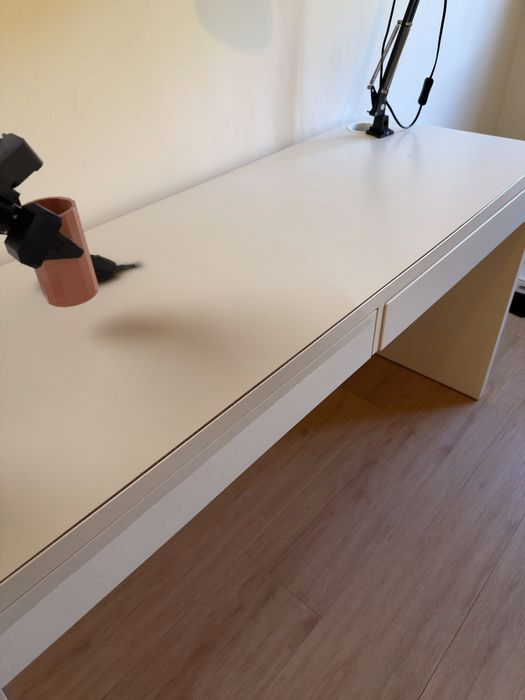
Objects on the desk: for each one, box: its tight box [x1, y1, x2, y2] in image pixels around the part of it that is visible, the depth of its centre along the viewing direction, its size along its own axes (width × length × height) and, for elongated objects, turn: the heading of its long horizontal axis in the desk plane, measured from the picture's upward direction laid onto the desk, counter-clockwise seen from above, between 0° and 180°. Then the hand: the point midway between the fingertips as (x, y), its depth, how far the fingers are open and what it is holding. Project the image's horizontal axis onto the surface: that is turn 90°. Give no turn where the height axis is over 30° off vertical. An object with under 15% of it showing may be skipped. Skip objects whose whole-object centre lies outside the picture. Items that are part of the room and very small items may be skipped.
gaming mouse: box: [90, 253, 136, 282], centre depth 84 cm, size 6×15×4 cm, turn 109°
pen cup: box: [15, 196, 100, 308], centre depth 67 cm, size 7×7×12 cm
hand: (68, 244), depth 67 cm, fingers closed on pen cup, 7 cm apart
